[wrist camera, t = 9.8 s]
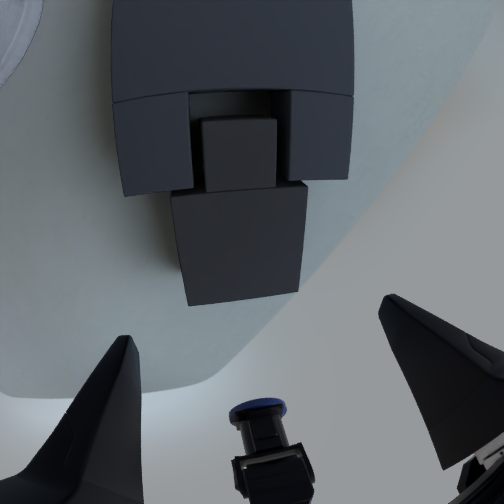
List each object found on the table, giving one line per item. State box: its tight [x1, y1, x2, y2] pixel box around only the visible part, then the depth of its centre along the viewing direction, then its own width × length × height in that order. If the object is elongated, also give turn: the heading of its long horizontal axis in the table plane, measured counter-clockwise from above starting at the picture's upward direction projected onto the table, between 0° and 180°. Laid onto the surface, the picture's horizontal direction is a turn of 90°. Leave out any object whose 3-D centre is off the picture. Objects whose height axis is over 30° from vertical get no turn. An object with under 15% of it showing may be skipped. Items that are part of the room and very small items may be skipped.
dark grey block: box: [111, 0, 354, 197], centre depth 9 cm, size 12×10×3 cm
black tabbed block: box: [170, 115, 308, 306], centre depth 13 cm, size 6×9×3 cm, turn 0°
